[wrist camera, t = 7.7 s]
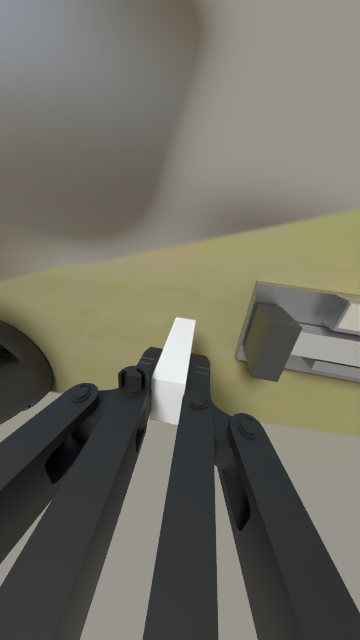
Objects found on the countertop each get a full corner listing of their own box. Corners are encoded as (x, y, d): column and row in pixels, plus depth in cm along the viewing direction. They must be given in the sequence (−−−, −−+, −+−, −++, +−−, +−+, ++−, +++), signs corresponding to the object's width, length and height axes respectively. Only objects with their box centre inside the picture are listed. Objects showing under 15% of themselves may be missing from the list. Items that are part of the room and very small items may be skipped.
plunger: (242, 347, 17) (250, 376, 14) (264, 278, 14) (282, 292, 11) (386, 373, 16) (438, 413, 12) (443, 303, 13) (532, 328, 9)
